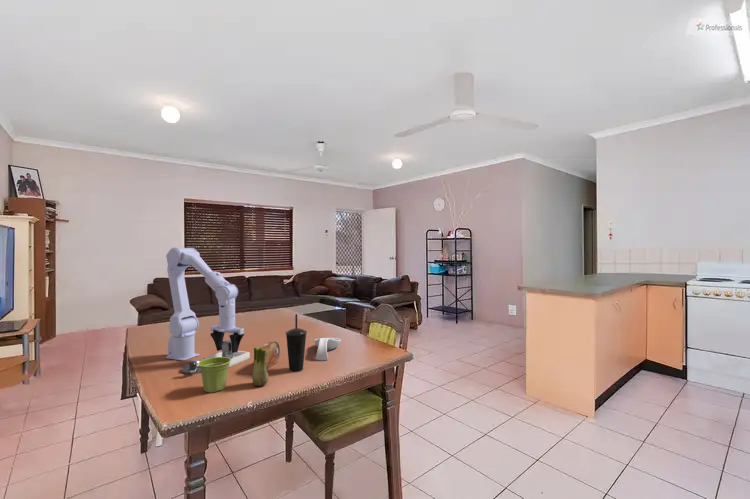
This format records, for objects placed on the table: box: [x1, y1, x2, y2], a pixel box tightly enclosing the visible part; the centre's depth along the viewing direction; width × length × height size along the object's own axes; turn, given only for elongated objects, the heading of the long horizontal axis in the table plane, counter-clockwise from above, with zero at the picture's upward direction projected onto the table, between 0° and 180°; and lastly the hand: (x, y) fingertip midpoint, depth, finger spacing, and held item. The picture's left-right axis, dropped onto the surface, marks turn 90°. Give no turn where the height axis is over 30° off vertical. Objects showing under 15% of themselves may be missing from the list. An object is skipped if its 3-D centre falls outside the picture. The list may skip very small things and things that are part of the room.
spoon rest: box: [313, 337, 342, 361], centre depth 149 cm, size 24×12×7 cm, turn 1°
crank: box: [188, 359, 201, 373], centre depth 124 cm, size 10×3×4 cm, turn 19°
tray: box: [202, 350, 251, 369], centre depth 136 cm, size 11×12×2 cm
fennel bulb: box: [251, 346, 269, 387], centre depth 113 cm, size 6×5×12 cm
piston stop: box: [221, 339, 233, 359], centre depth 136 cm, size 4×4×7 cm
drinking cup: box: [284, 314, 308, 373], centre depth 127 cm, size 8×8×20 cm
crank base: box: [181, 364, 201, 375], centre depth 127 cm, size 9×9×1 cm
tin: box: [258, 341, 281, 370], centre depth 131 cm, size 15×3×8 cm, turn 168°
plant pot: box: [198, 357, 231, 393], centre depth 110 cm, size 9×9×9 cm
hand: (227, 351), depth 136 cm, fingers open, 7 cm apart
